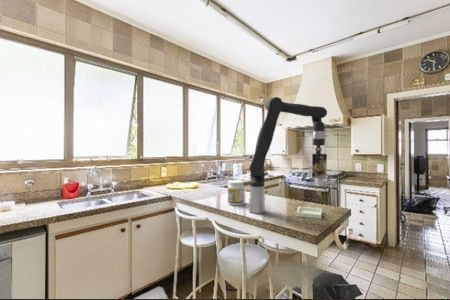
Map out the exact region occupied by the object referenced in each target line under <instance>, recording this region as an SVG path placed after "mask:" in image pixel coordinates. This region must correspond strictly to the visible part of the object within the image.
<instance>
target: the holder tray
mask: <svg viewBox="0 0 450 300" xmlns="http://www.w3.org/2000/svg"><path fill="white" fill-rule="evenodd" d="M322 210H323V209H322V208H320V207H308V206H306V207H305V206H298V208H297V211H296V218H297V217H298V218H306V219H315V220H322V215H323V214H322Z"/></svg>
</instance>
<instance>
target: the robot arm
mask: <svg viewBox="0 0 450 300" xmlns="http://www.w3.org/2000/svg"><path fill="white" fill-rule="evenodd" d="M264 107H265V109H266V111H267V113H266V117H265V120H264V122H263V123H262V125H261V127H260V129H259V132H258V135H257V140H256V144H255V151H254V154H253V156H252V157H253V158H252V160H251V162H250V166H249V169H248V170H249V172H250V181H249V192H250V193H249V194H250V196H249V198H248V200H249V201H248V202H249V203H248V204H249V213H252V214H256V215H257V214H264V213H265V209H266V208H265V207H266V206H265V203H266V202H265V179H266V178H265V176H266V175H265V174H266V173H265V162H266V158H267V154H268V153H269V150H270V148H271V145H272V142H273V139H274V135H275V130H276V127H277V122H278V119H279V117H280V114H281V113H286V114H287V113H288V114H292V115H296V116H302V117H310V118H311V122H312V125H313V126H312V146H316V147H315V149H314V150H315V154H316V158H317V159H316V163H317V164H320V157H321V156H320V155H321V154H322V149H323V148H322V146H325V145H326V142H325V141H326V139H325V138H326V132H325V128H326V127H325V123H324V122H323V121H322V119H324V118H325V117H326V116H327V114H328V111H327V108H326V107H323V106H318V105H317V106H316V105H315V106H313V105H308V104H301V103H289V102H284V101H283V100H282V99H281V98H280V97H278V96H273V97H270V98H268V99H266V101H265V103H264Z"/></svg>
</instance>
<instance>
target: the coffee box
mask: <svg viewBox="0 0 450 300" xmlns="http://www.w3.org/2000/svg"><path fill="white" fill-rule="evenodd" d="M320 156H321V157H320V164H317V163H316V159H317V158H316V153H310V160H309V161H310V162H309V163H310V165H309V166H310V167H309V168H310V170H309V178H310V179H317V180H319V179H320V180H326V179H327V164H328V162H327V161H328V159H327V157H328V154H327V153H321V155H320Z"/></svg>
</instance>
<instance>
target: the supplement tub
mask: <svg viewBox="0 0 450 300" xmlns="http://www.w3.org/2000/svg"><path fill="white" fill-rule="evenodd" d="M227 203H228V204H229V205H230V206H234V205H238V206H241V205H244V204H245V185H244V181H243V180H240V179H235V180H234V179H232V180H229V181H228V185H227Z"/></svg>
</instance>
